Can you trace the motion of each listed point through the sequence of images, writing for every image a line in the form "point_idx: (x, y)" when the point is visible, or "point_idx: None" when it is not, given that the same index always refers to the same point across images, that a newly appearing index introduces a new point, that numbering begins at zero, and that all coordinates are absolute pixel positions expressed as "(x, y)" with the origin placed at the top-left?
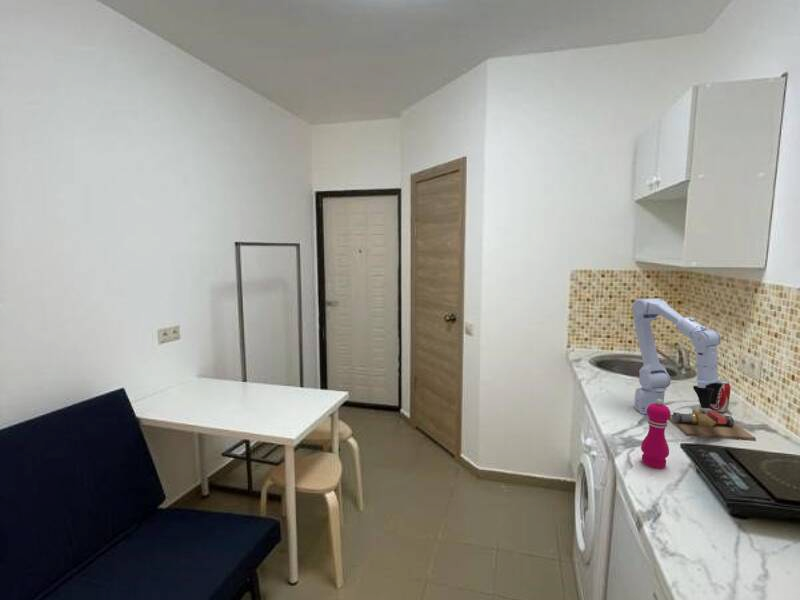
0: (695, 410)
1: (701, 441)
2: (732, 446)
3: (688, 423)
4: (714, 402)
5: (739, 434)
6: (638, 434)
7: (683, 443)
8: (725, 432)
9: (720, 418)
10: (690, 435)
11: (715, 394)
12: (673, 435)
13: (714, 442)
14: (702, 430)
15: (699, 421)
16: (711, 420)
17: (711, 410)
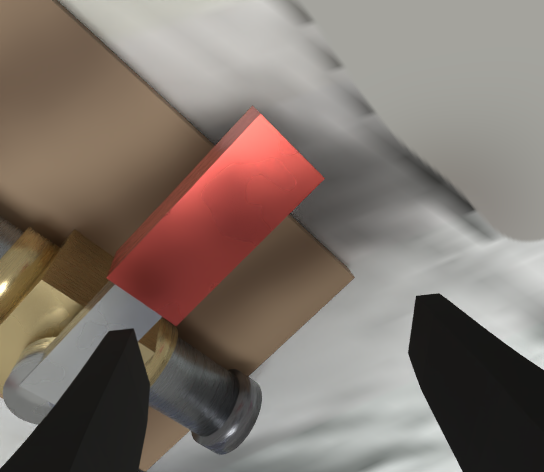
0: None
1: (367, 181)
2: (281, 12)
3: None
4: (130, 355)
5: (20, 39)
6: None
7: (482, 228)
8: (93, 131)
9: (305, 161)
10: (334, 256)
11: (88, 460)
12: (405, 307)
13: (314, 123)
14: None
15: None
16: (77, 264)
17: (95, 316)
